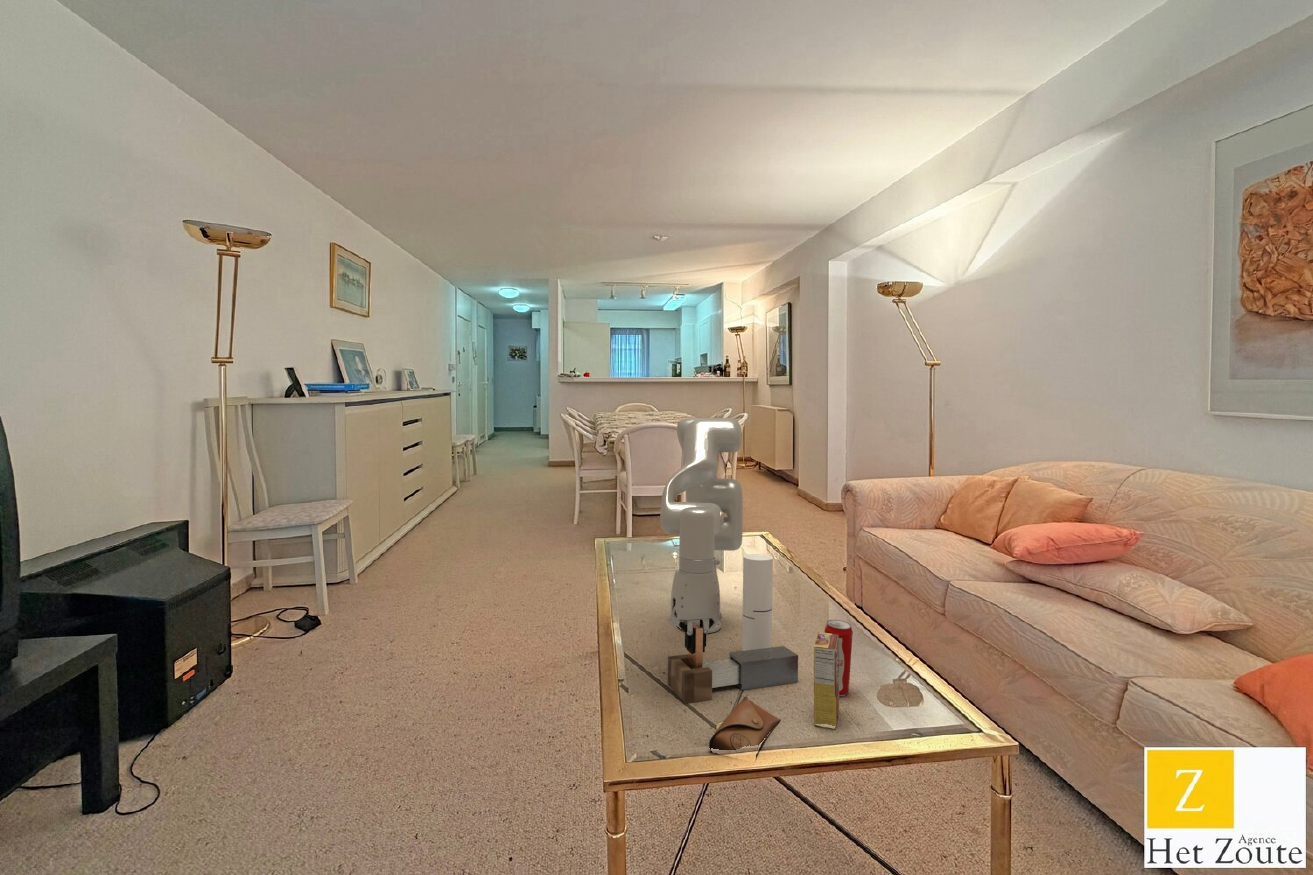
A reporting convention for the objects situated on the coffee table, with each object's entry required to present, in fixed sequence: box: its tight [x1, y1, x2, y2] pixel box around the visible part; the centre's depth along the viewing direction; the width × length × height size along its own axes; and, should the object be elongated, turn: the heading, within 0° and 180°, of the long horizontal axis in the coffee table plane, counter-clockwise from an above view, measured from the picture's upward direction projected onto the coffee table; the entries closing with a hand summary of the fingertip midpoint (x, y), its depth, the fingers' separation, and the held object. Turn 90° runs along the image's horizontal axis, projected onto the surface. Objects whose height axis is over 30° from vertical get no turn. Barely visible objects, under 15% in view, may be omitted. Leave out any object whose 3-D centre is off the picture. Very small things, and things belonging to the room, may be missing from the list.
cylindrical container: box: [741, 553, 774, 651], centre depth 144 cm, size 7×7×25 cm
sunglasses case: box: [708, 695, 781, 750], centre depth 108 cm, size 18×7×7 cm
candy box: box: [813, 632, 840, 726], centre depth 114 cm, size 9×4×15 cm, turn 158°
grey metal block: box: [728, 645, 799, 691], centre depth 131 cm, size 6×14×6 cm, turn 109°
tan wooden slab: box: [687, 622, 741, 689], centre depth 128 cm, size 4×14×13 cm, turn 110°
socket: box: [667, 653, 713, 704], centre depth 125 cm, size 10×6×6 cm, turn 20°
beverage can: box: [823, 619, 854, 697], centre depth 126 cm, size 6×6×15 cm
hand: (695, 650), depth 125 cm, fingers closed on tan wooden slab
